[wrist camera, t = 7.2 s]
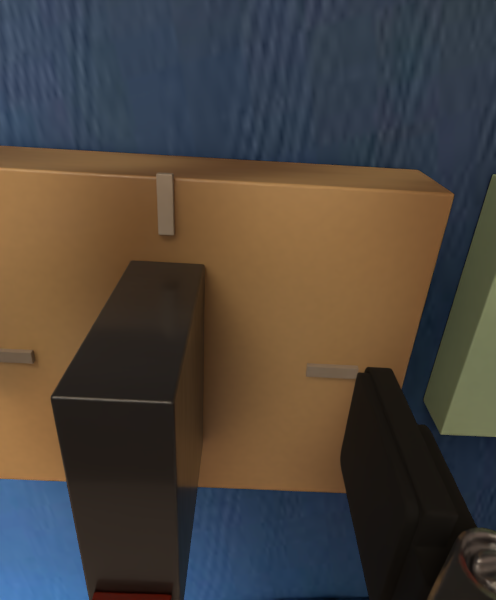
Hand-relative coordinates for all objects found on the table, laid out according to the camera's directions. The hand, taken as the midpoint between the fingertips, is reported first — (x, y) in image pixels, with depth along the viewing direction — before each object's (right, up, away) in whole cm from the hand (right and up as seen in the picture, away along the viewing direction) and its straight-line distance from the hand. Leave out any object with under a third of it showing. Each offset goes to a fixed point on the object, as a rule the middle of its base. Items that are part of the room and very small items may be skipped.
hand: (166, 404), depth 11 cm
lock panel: (0, +2, +3) cm, 4 cm away
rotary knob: (0, +1, +1) cm, 2 cm away
